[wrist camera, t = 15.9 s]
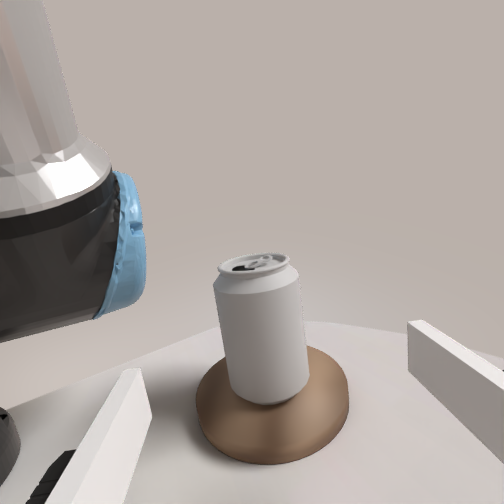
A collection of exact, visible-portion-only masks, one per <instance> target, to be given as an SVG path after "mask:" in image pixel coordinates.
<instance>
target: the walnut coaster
mask: <svg viewBox="0 0 504 504" xmlns="http://www.w3.org/2000/svg"><path fill="white" fill-rule="evenodd" d="M306 346H307V345H306ZM307 356H308V365H309V374H310V376H309V379H308V381H307V384H306V385H305V386H304V387H303V388H302V390H301V391H300V392H298V393H297V394H295V395H294V396H293V397H292V398H290V399H288V400H287V401H285V402H282V403H278V404H274V405H261V404H256V403H253V402H251V401H248V400H245V399H244V398H242V397H240V396H238V395H237V394H236V393H235V392H234V391H233V389H232V388H231V385H230V380H229V374H228V368H227V362H226V357H224V358H223V359H221V360H220V361H218V362H217V363H216V364H215V365H214V366H212V367H211V368H210V369H209V370H208V372H207V373H206V374H205V375H204V377H203V379H202V380H201V382H200V384H199V387H198V390H197V394H196V407H197V412H198V417H199V422H200V425H201V428H202V431H203V433H204V435H205V436H206V438H207V439H208V440H209V442H210V443H211V444H212V445H213V446H214V447H216V448H217V449H218V450H219V451H221V452H222V453H224V454H226V455H227V456H230V457H232V458H234V459H237V460H240V461H244V462H248V463H254V464H280V463H287V462H291V461H295V460H299V459H302V458H304V457H307V456H309V455H311V454H313V453H315V452H317V451H318V450H320V449H322V448H323V447H324V446H326V445H327V444H328V443H330V442H331V441H332V440H333V439H334V438H335V437H336V435H337V434H338V433H339V431H340V430H341V429H342V427H343V425H344V423H345V421H346V419H347V415H348V411H349V395H348V384H347V379H346V376H345V374H344V372H343V370H342V368H341V367H340V366H339V364H338V363H337V362H336V361H335V360H334V359H333V358H331V357H330V356H328V355H327V354H325V353H324V352H322V351H320V350H318V349H315V348H313V347H310V346H307Z"/></svg>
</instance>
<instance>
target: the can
mask: <svg viewBox="0 0 504 504" xmlns="http://www.w3.org/2000/svg"><path fill="white" fill-rule="evenodd" d="M289 261H290V259H289V257H288V256H286V255H285V254H280V253H258V254H250V255H244V256H240V257H236V258H232V259H230V260H227V261H225V262H223V263H221V264H220V265H219V266H218V271H219V272H220V275H219V276H218V278H217V279H216V281H215V282H214V284H213V287H214V293H215V299H216V304H217V310H218V316H219V322H220V328H221V334H222V339H223V345H224V351H225V357H226V362H227V368H228V374H229V380H230V385H231V388H232V389H233V391H234V392H235V393H236V394H237V395H238V396H240V397H242V398H244V399H245V400H248V401H251V402H253V403H256V404H261V405H274V404H278V403H282V402H285V401H287V400H288V399H290V398H292V397H293V396H294V395H295V394H297V393H298V392H300V391H301V390H302V388H303V387H304V386H305V385H306V384H307V381H308V379H309V376H310V374H309V365H308V356H307V346H306V337H305V328H304V319H303V310H302V300H301V291H300V282H299V274H298V271H296V270H295V269H294V268H293V267H291V266H290V265H289V264H288V262H289Z"/></svg>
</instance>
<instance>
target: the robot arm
mask: <svg viewBox="0 0 504 504" xmlns="http://www.w3.org/2000/svg"><path fill="white" fill-rule="evenodd" d="M142 228H143V226H142V212H141V206H140V202H139V197H138V192H137V189H136V186H135V184H134V182H133V179H132V178H131V177H130V176H129V175H127V174H125V173H120V172H118V171H117V172H115V171H112V167H111V162H110V159H109V156H108V154H107V153H106V152H105V150H103V149H102V148H101V147H100V146H98V145H97V144H95V143H94V142H92V141H91V140H89V139H88V138H87V137H85V136H83V135H82V134H81V133H79V131H78V128H77V125H76V121H75V117H74V114H73V110H72V106H71V103H70V99H69V95H68V92H67V88H66V84H65V81H64V77H63V73H62V70H61V66H60V63H59V59H58V55H57V51H56V48H55V44H54V40H53V37H52V33H51V29H50V26H49V22H48V18H47V15H46V11H45V7H44V4H43V0H0V343H2V342H6V341H10V340H13V339H17V338H21V337H25V336H29V335H33V334H37V333H41V332H44V331H48V330H52V329H56V328H60V327H64V326H68V325H72V324H75V323H79V322H83V321H87V320H91V319H93V320H94V319H97V318H99V317H101V316H102V315H103V314H107V313H110V312H113V311H116V310H119V309H121V308H125V307H128V306H130V305H132V304H133V303H135V302H136V301H137V300H138V299H139V297H140V296H141V295H142V293H143V290H144V287H145V281H146V247H145V237H144V233H143V231H142ZM407 330H408V371H409V372H410V373H411V374H412V375H413V376H414V377H415V378H416V379H417V380H418V381H419V382H420V383H421V384H422V385H423V386H424V387H425V388H426V389H427V390H428V391H429V392H430V393H432V394H433V395H434V396H435V397H436V398H437V399H438V400H439V401H440V402H441V403H442V404H443V405H444V406H445V407H446V408H447V409H448V410H449V411H450V412H451V413H452V414H453V415H454V416H455V417H456V418H457V419H458V420H459V421H460V422H461V423H462V424H463V425H464V426H465V427H466V428H467V429H469V430H470V431H471V432H472V433H473V434H474V435H475V436H476V437H477V438H478V439H479V440H480V441H481V442H482V443H483V444H484V445H485V446H486V447H487V448H488V449H489V450H490V451H491V452H492V453H493V454H494V455H495V456H496V457H497V458H498V459H499V460H500V461H501V462H502V463H503V464H504V370H500V369H499V368H497V367H495V366H494V365H492V364H491V363H489V362H488V361H486V360H485V359H483V358H481V357H480V356H478V355H477V354H475V353H474V352H472V351H470V350H469V349H467V348H466V347H464V346H463V345H461V344H459V343H458V342H456V341H455V340H453V339H452V338H450V337H449V336H447V335H445V334H444V333H442V332H441V331H439V330H437V329H436V328H435V327H433V326H431V325H430V324H428V323H427V322H425V321H424V320H416V321H411V322H407ZM151 419H152V413H151V409H150V405H149V401H148V397H147V392H146V388H145V384H144V380H143V376H142V372H141V368H140V367H138V368H132V369H126V370H123V372H122V374H121V375H120V377H119V379H118V381H117V382H116V384H115V386H114V387H113V389H112V391H111V392H110V394H109V396H108V397H107V399H106V401H105V403H104V404H103V406H102V408H101V409H100V411H99V413H98V414H97V416H96V418H95V419H94V421H93V423H92V425H91V426H90V428H89V430H88V431H87V433H86V435H85V436H84V438H83V440H82V441H81V443H80V445H79V447H78V448H77V449H75V450H70V451H65V452H64V453H63V454H62V455H61V456H60V457H59V458H58V459H57V460H56V461H55V462H54V463H53V464H52V465H51V466H50V467H49V468H48V470H47V471H46V473H45V474H44V476H43V478H42V479H41V481H40V482H39V485H38V486H37V487H36V488H35V490H34V491H33V493H32V494H31V496H30V500H27V502H26V504H123V503H124V500H125V497H126V494H127V491H128V488H129V485H130V482H131V479H132V476H133V473H134V470H135V467H136V464H137V461H138V458H139V455H140V452H141V449H142V446H143V443H144V440H145V437H146V434H147V431H148V428H149V425H150V422H151ZM20 445H21V443H20V437H19V434H18V432H17V429H16V426H15V424H14V421H13V419H12V417H11V416H10V414H9V413H8V412H7V411H5V410H4V409H3V408H1V407H0V486H1V485H2V484H3V482H4V481H5V479H6V478H7V476H8V475H9V473H10V472H11V470H12V468H13V466H14V464H15V462H16V460H17V458H18V455H19V451H20Z"/></svg>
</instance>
